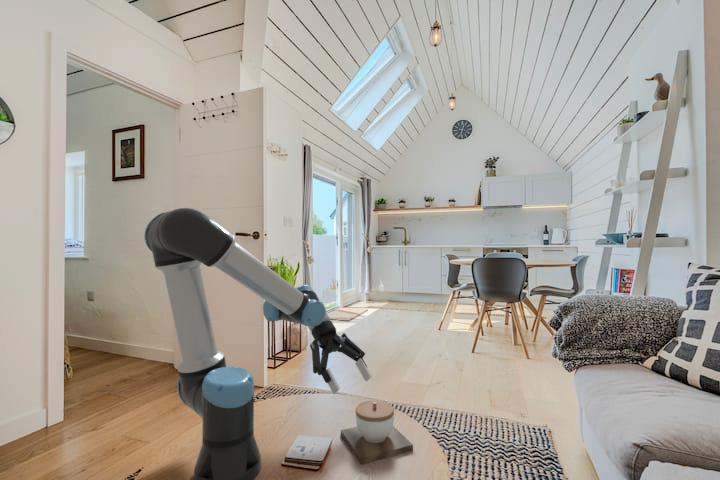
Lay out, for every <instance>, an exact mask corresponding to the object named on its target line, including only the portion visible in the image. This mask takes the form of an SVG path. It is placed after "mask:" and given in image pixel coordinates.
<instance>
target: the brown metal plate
mask: <svg viewBox="0 0 720 480" xmlns="http://www.w3.org/2000/svg"><path fill="white" fill-rule="evenodd" d="M340 437H341V438H342V439H343V441H344V442H345V444H346V445H347V446H348V448H349V449H350V451H351V452H352V454H353V455H354V456H355V458H356V459H357V461H358V462H359V464H360V465H365V464H368V463H372V462H376V461H379V460H383V459H386V458H389V457H394V456H397V455H401V454H405V453H408V452H412V451H414V444H413V443H412V442H411V441H410V440H409V439H408V438H407V437H406V436H404V435H403V433H401V432H400V431H399V430H398V429H397V428H396V427H395V426H394V425H393V427H392V430H391V432H390V434H389V435H388V436H387V437H386V439H385V440H384V441H382V442H379V443H371V442H368V441H366V440H365V439H364V437H363V436H362V435H361V434H360V432H359V430H358V427H357V426H354V427H350V428H345V429H341V430H340Z"/></svg>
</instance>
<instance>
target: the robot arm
mask: <svg viewBox="0 0 720 480" xmlns="http://www.w3.org/2000/svg"><path fill="white" fill-rule="evenodd" d="M144 242H145V244H146V246H147V248H148V249H149V251H150V252H152V258H153V262H154V267H155V268H156V269H157V270H159V271H160V272H162V273H163V276H164V280H165V281H164V282H165V285H166V289H167V294H168V298H169V299H168V300H169V303H170V308H171V312H172V316H173V321H174V327H175V331H176V336H177V340H178V341H177V342H178V345H179V351H180V356H181V359H182V360H181V362H180V363H179V365H178V366H177V373H178V379H177V384H176V388H177V394H178V396H179V398H180V400H181V402H182V403H183V404H184V405H186V406H187V407H188V408H190V409H191V410H192V411H193V412H195V413H196V414H197V415H198V416H199V417H200V418H201V419H202V440H201V441H202V443H201V447H200V450H199V453H198V456H197V459H196V462H195V465H194V469H193V480H254V478H256V477H257V475H258V474H259V472H260V471H261V469H262V468H261V466H262V457H261V452H260V450H259V446H258V443H257V440H256V437H255V435H254V434H255V433H254V431H255V429H254V428H255V427H254V423H255V422H254V420H255V418H254V415H255V414H254V412H255V410H254V409H255V408H254V407H255V399H254V398H255V384H254V376H253V375H252V373H251V372H250V371H249V370H248V369H246V368H242V367H239V366H238V367H235V366H227V363H226V358H225V354H224V352H222V351H220V350H218V349H217V344H216V339H215V333H214V329H213V324H212V319H211V314H210V309H209V304H208V299H207V295H206V290H205V285H204V281H203V275H202V271H201V264H202V265H204V266H206V267H208V268H212V267H215V268H217V269H218V270H220V271H221V272H223V273H224V274H226V276H229V277H230V278H232V279H233V280H235V281H236V282H238V283H239V284H241V285H242V286H243V287H245V288H247V289H248V290H250V291H251V292H253V293H254V294H256V295H258V296H259V297H260V298H261V299H263V300H264V302H263V305H262V312H263V316H264V318H265V319H266V320H267V322H278V321H286V322H291V323H294V324H298V325H303V326H305V327H307V328H308V330H309V331H310V332H311V335H312V337H313V340H312V342H311V343H310V345H309V347H310V349H311V358H312V359H311V360H312V372H313V373H314V374H317V375H318V376H321V377H322V380H323V381H324V382H325V383H326V384H328V387H329V388H330V391H331V392H332V395H335V394H336V393H337V392H339V391H340V390H341V386H339V384H338V382H337V380H336V378H335V376H334V374H333V373H332V370H331V368H327V367H328V366H327V365H328V362H329V361H328V360H329V354H331V353H333V352H334V353H336V352H338V353H342V354H343V355H345V356H347V358H350V359H351V360H353V361H355V366H356V367H357V369H358V370H359V373H360V374H361V376H362V378H363V379H364V381H365V382H368V381H369V380H370V379H371V378H372V377H373V376H372V374H371V372H370V371H369V369H368V365H367V364H366V362H365V360H364V359H363V358H364V357H365V356H366V352H364V350H362V349H361V348H360V347H359V346H358V345H357V344H356V343H354V342H353V340H351V339H350V338H349V337H348V336H347V334H346V333H342V334H341V335H338V334H337V328H336V326H335V325H334V323H333V322H332V320H331V318H330V316H329V315H328V313H327V311H326V307H325V304H324V303H323V302H321V301H320V299H319V297H318V294H317V293H316V292H315V290H314V289H313V288H312V286H310V285H308V284H303V285H301V286H297V287H295V286H294V285H292V284H291V283H290V282H289V281H287V280H286V279H284V278H283V277H282V276H281V275H279V274H278V273H277V272H275V271H274V270H272V269H271V268H270V267H269V266H268V265H266V264H264V262H262V261H261V260H260V259H258V258H257V257H256V256H254V255H253V254H252V253H250V252H249V251H248V250H246V248H244V247H242V246H241V245H240V244H238V242H236V240H235V235H233V234H232V233H231V232H230V231H228V230H227V229H226V228H224V226H221V225H220V223H217V221H215V220H214V219H212V218H211V217H210V216H208V215H207V214H205V213H203V212H201V211H199V210H197V209H194V208H189V207H180V208H176V209H173V210H169V211H165V212H162V213H159V214H158V215H156V216H154V217H153V218H152V219H151V220H150V221H148V223H147V225H146V227H145V230H144ZM320 349H322V350H321V351H320ZM320 352H321V354H320Z"/></svg>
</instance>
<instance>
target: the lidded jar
mask: <svg viewBox="0 0 720 480" xmlns="http://www.w3.org/2000/svg"><path fill="white" fill-rule="evenodd" d="M394 414H395V409H394V406H393V405H392V404H390V403H388V402H385V401H381V400H369V401H364V402H361V403H359V404H358V405H357V406H355V422H356V427H358V430H359V432H360V434H361V435H362V436H363V437H364V439H365V440H366V441H368V442H371V443H379V442H382V441H384V440H385V439H386V437H387V436H388V435H389V434H390V432H391V430H392V427H393V426H394V418H395V417H394Z"/></svg>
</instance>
